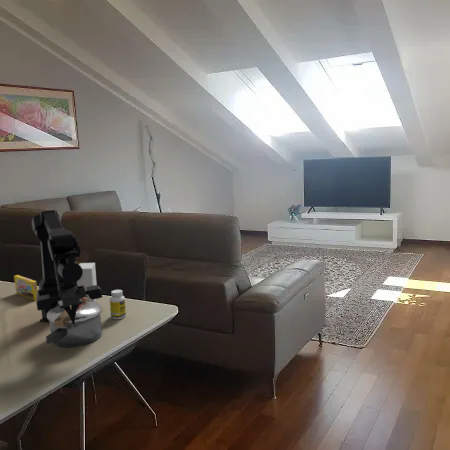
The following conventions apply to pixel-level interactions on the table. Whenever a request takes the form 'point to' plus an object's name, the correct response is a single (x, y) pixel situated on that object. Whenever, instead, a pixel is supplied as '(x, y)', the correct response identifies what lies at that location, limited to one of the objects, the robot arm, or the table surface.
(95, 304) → the lid
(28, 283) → the candy box
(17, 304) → the table surface
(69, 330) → the cooker pot
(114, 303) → the supplement bottle
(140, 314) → the table surface
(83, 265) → the skincare box
